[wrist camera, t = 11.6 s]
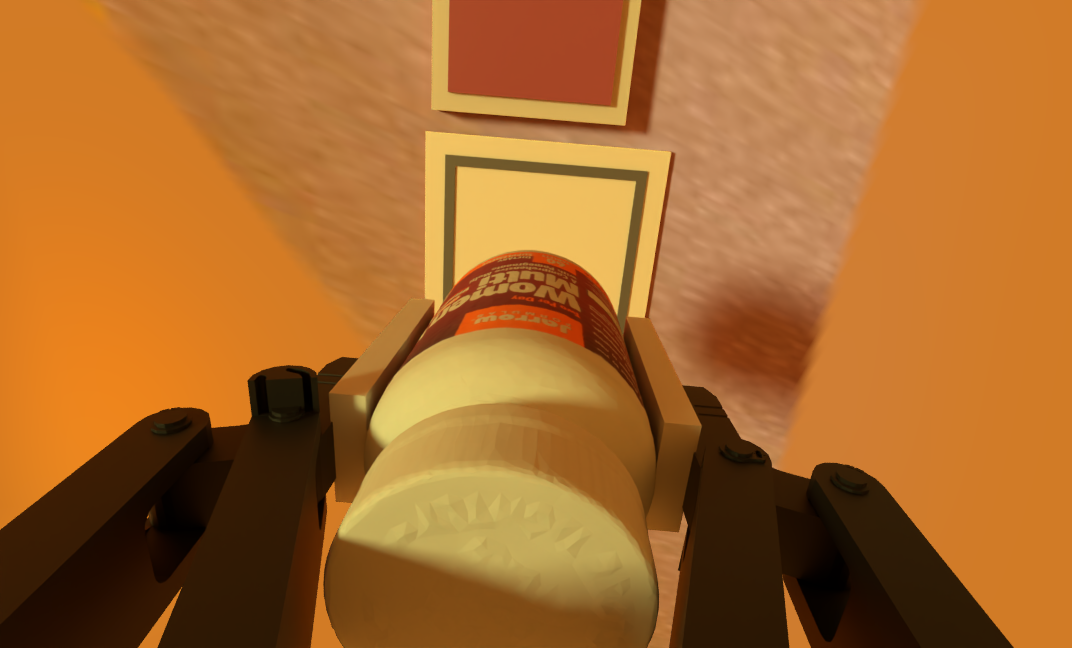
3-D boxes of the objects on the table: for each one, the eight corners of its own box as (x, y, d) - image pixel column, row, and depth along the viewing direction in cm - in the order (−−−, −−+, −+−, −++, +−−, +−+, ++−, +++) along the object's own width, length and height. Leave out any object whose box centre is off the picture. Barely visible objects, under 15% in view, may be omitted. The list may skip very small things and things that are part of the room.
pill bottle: (574, 215, 17) (602, 360, 6) (643, 373, 19) (755, 689, 8) (409, 291, 18) (199, 521, 8) (490, 434, 20) (413, 780, 9)
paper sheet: (426, 131, 26) (425, 131, 26) (670, 151, 26) (671, 151, 26) (425, 354, 30) (424, 356, 30) (635, 372, 30) (635, 374, 30)
